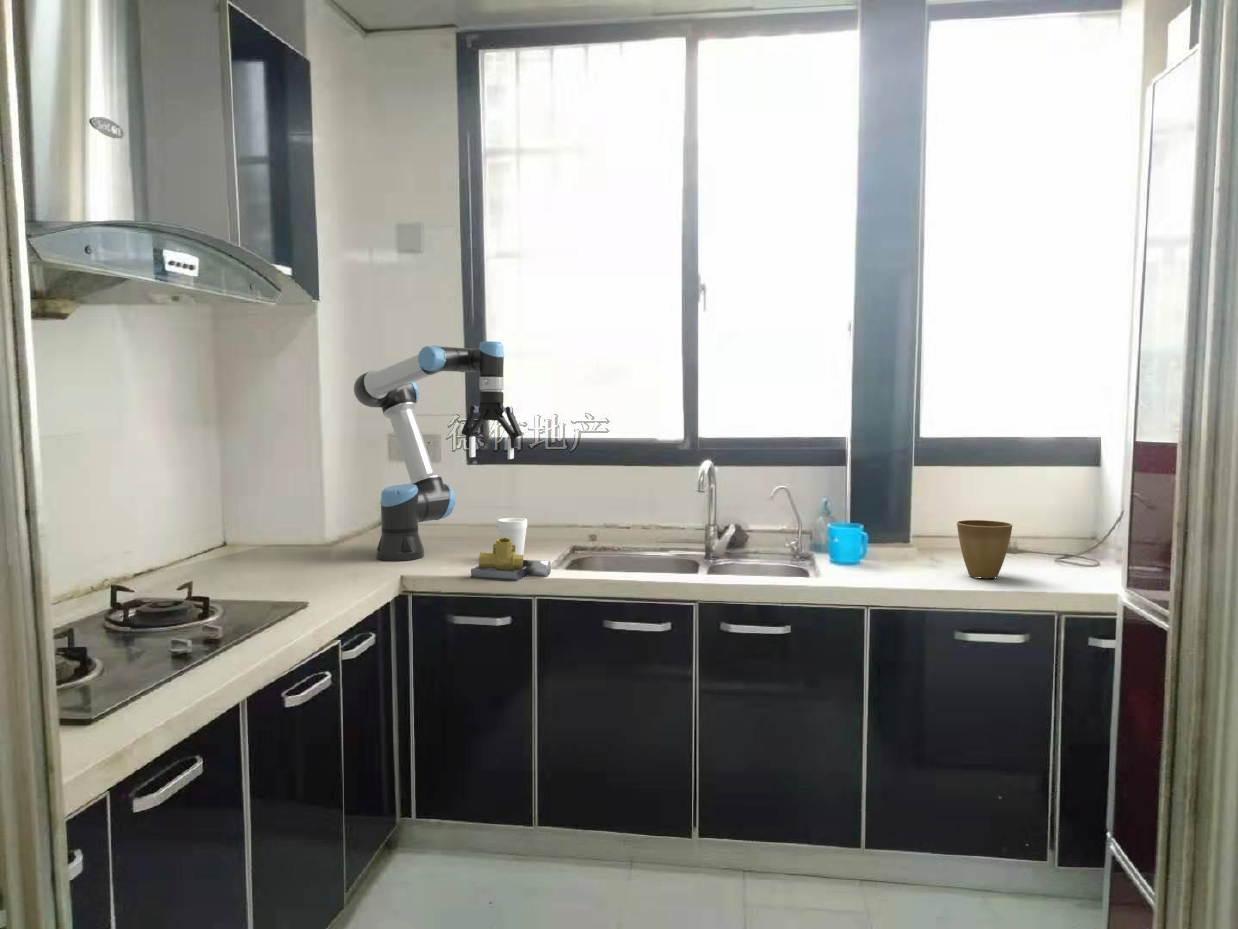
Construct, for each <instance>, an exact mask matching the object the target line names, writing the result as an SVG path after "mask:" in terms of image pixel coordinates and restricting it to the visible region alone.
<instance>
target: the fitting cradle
mask: <svg viewBox="0 0 1238 929" xmlns="http://www.w3.org/2000/svg"><path fill="white" fill-rule="evenodd" d="M551 570H552V565H551V561H550V560H540V559H539V560H538V559H523V568H522V569H520V570H514V571H506V570H497V569H496V568H482V567H479V565H478V566H475V567H473V568H470V578H472V579H487V580H499V581H500V580H502V581H513V582H518V581H519V580H522V579H524V578H525V576H526V577H528V576H539V575H540V576H541V577H549V576H550V574H551V572H552V571H551ZM527 575H528V576H527ZM548 575H549V576H548ZM523 577H524V578H523Z"/></svg>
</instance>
